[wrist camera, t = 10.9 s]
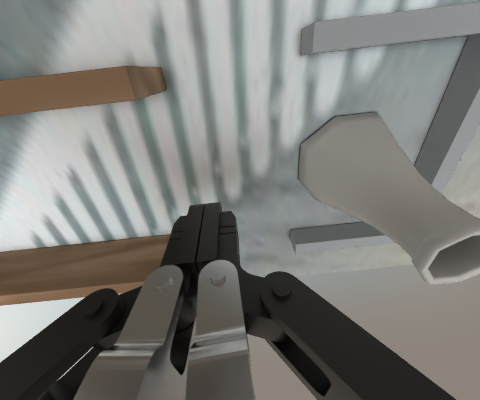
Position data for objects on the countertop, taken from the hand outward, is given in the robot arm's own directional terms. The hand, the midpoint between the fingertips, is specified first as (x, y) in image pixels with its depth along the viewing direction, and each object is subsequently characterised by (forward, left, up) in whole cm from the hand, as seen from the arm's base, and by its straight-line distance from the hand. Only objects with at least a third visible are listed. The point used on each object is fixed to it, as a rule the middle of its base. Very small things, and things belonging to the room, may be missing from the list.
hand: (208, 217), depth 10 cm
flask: (+1, +10, -7) cm, 12 cm away
